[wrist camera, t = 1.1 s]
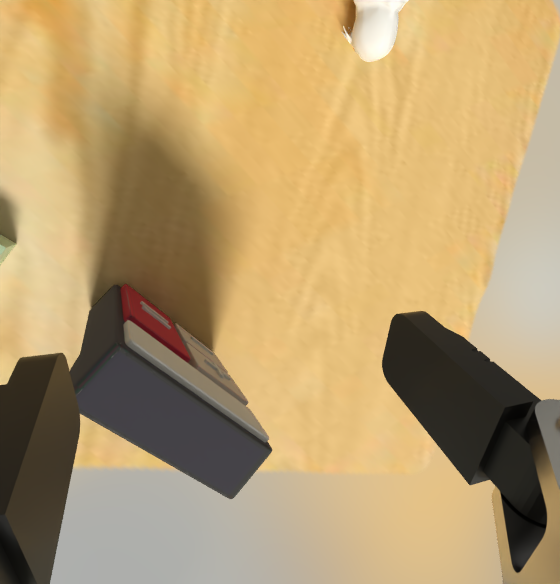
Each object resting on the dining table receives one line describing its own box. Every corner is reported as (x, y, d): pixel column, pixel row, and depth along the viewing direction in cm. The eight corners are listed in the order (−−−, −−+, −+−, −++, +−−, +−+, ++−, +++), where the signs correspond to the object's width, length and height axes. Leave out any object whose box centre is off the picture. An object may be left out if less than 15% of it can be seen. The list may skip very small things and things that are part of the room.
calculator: (218, 352, 35) (284, 442, 22) (187, 388, 35) (234, 503, 21) (121, 275, 31) (128, 329, 17) (83, 315, 30) (59, 403, 17)
